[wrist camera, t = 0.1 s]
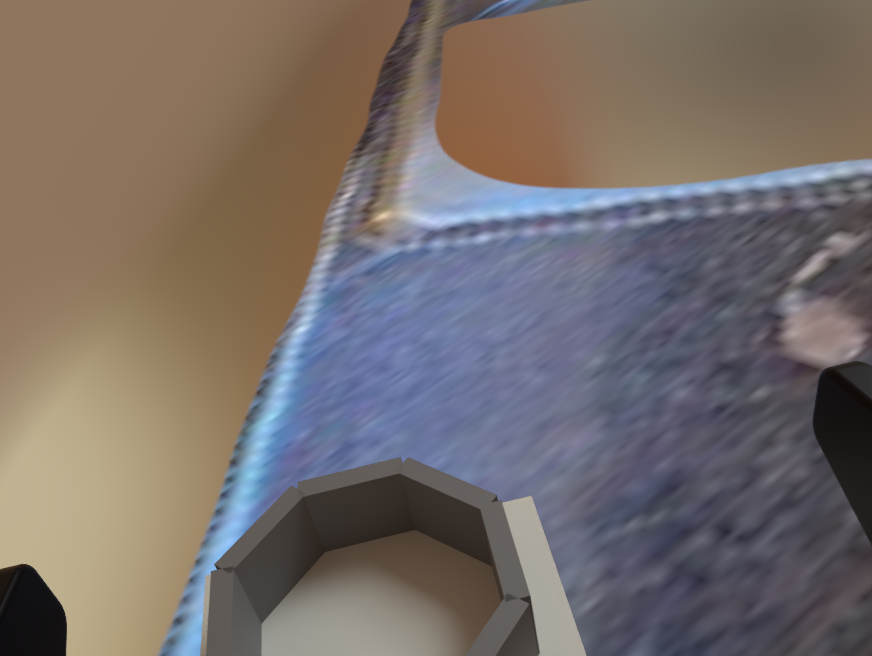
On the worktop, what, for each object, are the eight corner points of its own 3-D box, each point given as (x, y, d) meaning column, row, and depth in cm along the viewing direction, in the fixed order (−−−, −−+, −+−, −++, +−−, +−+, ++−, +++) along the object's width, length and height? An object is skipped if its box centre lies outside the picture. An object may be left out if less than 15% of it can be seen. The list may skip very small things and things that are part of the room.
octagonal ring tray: (621, 808, 22) (611, 677, 18) (239, 907, 21) (144, 796, 17) (540, 564, 28) (521, 428, 24) (245, 638, 27) (175, 511, 24)
